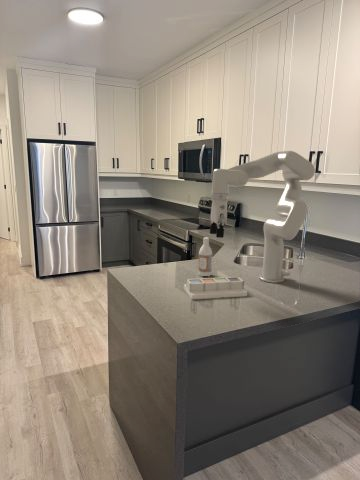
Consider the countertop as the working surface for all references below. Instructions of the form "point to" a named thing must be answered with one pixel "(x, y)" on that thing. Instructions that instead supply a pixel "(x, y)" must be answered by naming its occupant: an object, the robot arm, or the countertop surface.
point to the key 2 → (220, 280)
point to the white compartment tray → (215, 288)
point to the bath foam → (205, 259)
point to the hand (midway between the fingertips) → (216, 235)
